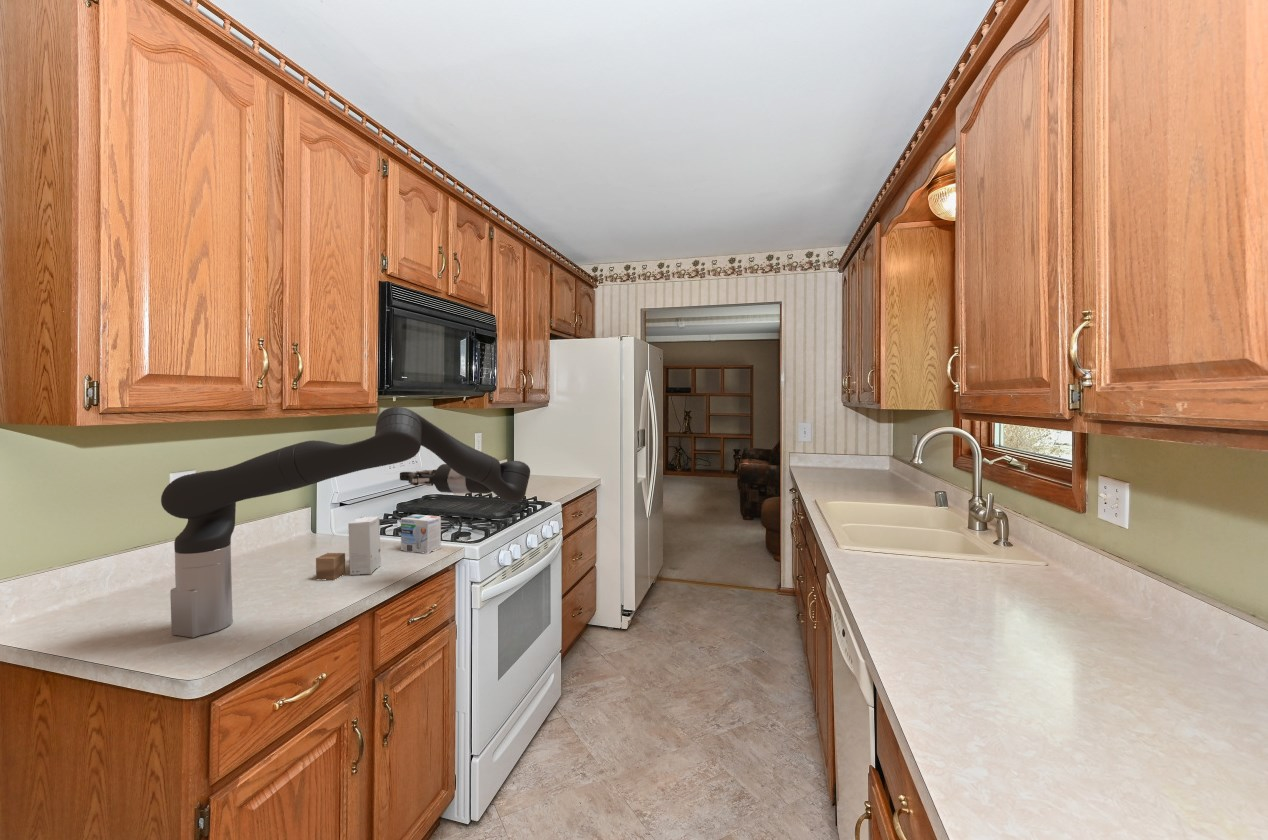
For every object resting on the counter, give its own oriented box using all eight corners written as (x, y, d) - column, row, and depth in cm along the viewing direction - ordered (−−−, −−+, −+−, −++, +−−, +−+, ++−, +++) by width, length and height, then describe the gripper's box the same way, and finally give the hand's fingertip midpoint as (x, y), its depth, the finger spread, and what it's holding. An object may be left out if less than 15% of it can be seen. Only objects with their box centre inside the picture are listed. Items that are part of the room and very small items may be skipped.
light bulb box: (400, 551, 168) (399, 518, 168) (414, 545, 174) (414, 513, 174) (428, 554, 165) (427, 520, 164) (441, 548, 171) (441, 516, 171)
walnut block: (334, 580, 141) (333, 558, 140) (316, 580, 141) (315, 558, 141) (345, 574, 146) (345, 553, 145) (328, 574, 146) (327, 552, 146)
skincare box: (371, 574, 145) (370, 521, 145) (348, 575, 144) (347, 522, 144) (381, 565, 153) (380, 515, 153) (359, 566, 153) (358, 515, 152)
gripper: (471, 461, 144) (417, 459, 149) (442, 467, 131) (383, 465, 136) (471, 488, 145) (417, 485, 149) (442, 497, 132) (384, 493, 136)
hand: (401, 475), depth 142 cm, fingers closed
